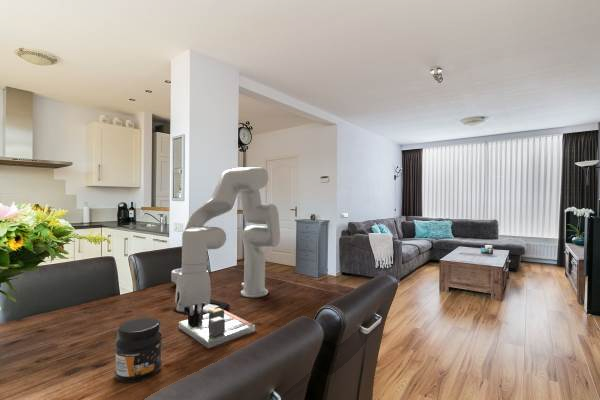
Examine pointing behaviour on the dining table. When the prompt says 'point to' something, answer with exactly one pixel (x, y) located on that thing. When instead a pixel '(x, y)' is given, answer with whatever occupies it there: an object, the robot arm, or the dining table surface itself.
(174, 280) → the grey round bowl
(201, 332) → the panel
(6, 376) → the dining table surface
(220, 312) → the block
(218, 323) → the breaker right
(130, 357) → the supplement container
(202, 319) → the block
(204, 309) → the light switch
